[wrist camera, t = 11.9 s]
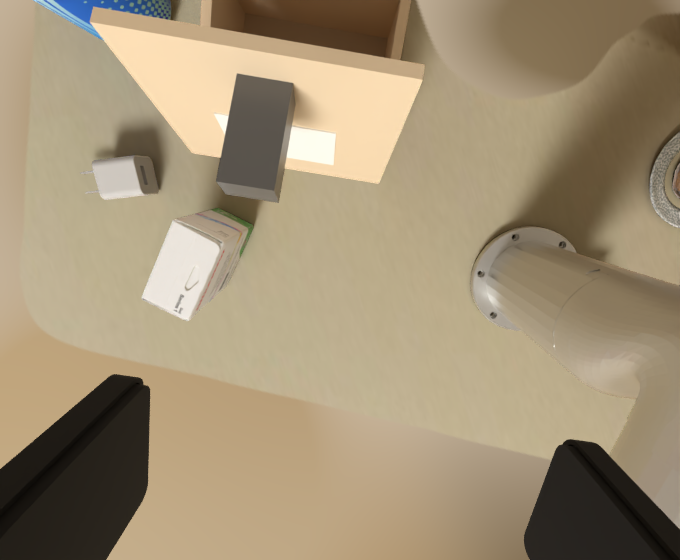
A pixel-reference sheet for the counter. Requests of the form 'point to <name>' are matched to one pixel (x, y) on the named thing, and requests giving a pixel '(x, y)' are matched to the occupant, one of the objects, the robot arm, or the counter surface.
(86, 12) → the beer can
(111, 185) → the usb wall charger
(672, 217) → the pastry
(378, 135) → the tan labeled panel
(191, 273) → the ink box
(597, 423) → the counter surface
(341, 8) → the carton
